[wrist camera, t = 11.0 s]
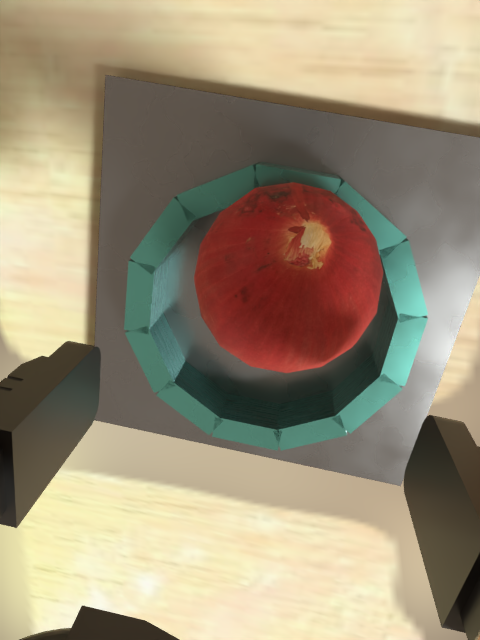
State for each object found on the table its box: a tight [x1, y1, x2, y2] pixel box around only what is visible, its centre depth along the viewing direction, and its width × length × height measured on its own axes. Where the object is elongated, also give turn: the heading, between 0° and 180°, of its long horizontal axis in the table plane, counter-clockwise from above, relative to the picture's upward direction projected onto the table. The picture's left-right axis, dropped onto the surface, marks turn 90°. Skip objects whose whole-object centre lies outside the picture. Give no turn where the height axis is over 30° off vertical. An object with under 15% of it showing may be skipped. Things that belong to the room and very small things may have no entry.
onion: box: [194, 182, 383, 373], centre depth 14 cm, size 6×6×8 cm
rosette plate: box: [94, 75, 480, 486], centre depth 19 cm, size 15×15×3 cm
